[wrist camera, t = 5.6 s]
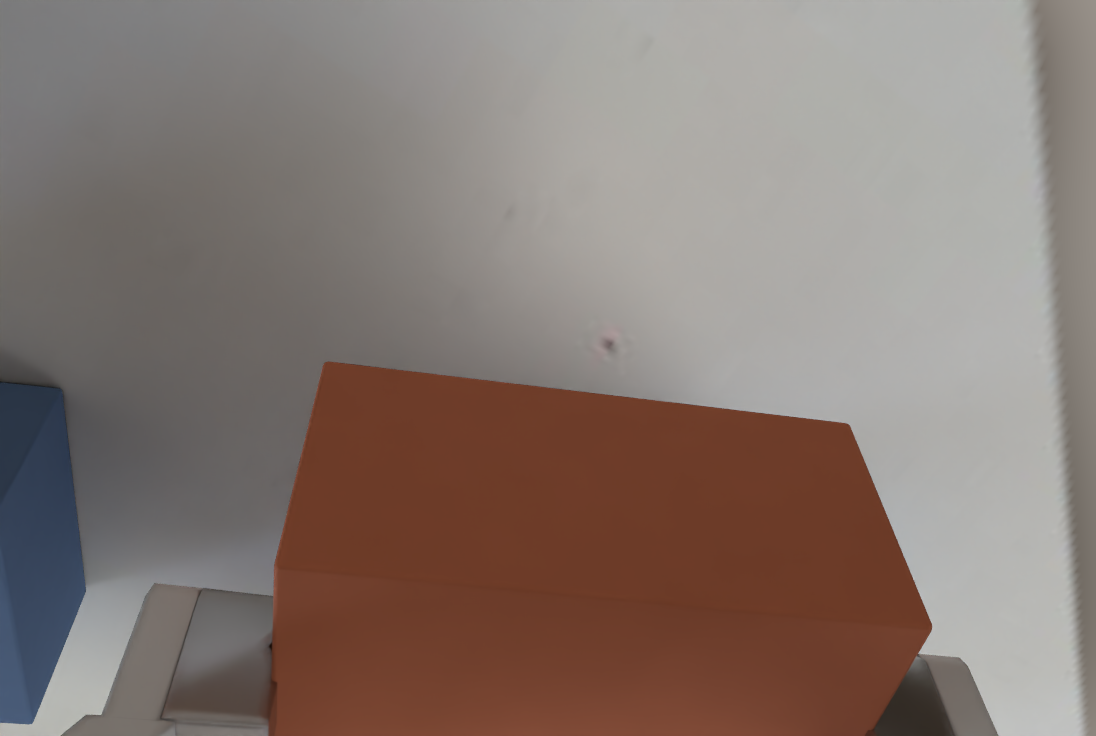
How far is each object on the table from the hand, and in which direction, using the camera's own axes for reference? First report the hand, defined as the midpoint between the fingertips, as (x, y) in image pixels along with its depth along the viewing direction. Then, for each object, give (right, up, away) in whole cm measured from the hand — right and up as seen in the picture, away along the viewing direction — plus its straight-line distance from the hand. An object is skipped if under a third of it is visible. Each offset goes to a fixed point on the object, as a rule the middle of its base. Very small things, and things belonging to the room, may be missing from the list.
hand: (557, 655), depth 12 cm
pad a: (0, +1, +1) cm, 2 cm away
